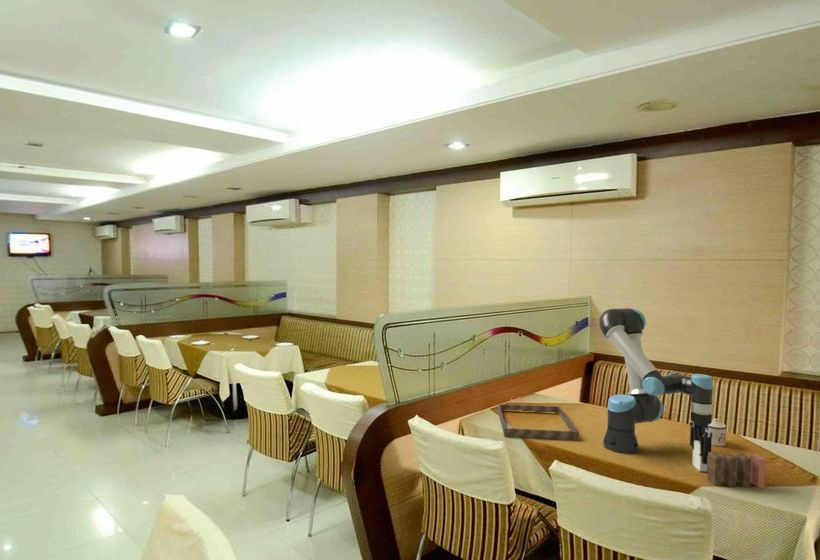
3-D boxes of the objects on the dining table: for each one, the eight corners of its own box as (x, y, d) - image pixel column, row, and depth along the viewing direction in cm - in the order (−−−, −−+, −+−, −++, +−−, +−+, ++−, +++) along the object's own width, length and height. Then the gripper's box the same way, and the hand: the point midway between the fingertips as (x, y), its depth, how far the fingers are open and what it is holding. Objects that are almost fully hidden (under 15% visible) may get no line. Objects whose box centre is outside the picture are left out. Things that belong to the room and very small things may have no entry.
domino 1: (699, 471, 193) (700, 444, 193) (693, 465, 198) (694, 440, 198) (705, 471, 193) (706, 444, 193) (699, 466, 198) (700, 440, 198)
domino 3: (728, 486, 180) (729, 457, 179) (721, 480, 185) (722, 452, 184) (735, 486, 179) (736, 458, 179) (728, 480, 184) (729, 453, 184)
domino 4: (743, 487, 179) (744, 458, 179) (735, 481, 184) (736, 453, 184) (750, 487, 179) (751, 458, 179) (742, 481, 184) (743, 453, 184)
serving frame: (504, 436, 230) (504, 428, 229) (497, 410, 271) (497, 403, 271) (578, 440, 226) (578, 432, 226) (560, 413, 268) (560, 406, 267)
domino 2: (714, 485, 180) (715, 457, 180) (707, 479, 185) (708, 451, 185) (721, 485, 180) (721, 457, 180) (714, 480, 185) (714, 452, 185)
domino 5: (758, 488, 179) (759, 459, 178) (750, 482, 184) (751, 454, 183) (764, 488, 178) (765, 459, 178) (756, 482, 183) (757, 454, 183)
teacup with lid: (722, 448, 218) (723, 423, 218) (700, 442, 225) (701, 418, 225) (730, 442, 226) (731, 418, 226) (709, 436, 233) (709, 413, 233)
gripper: (722, 419, 185) (721, 478, 186) (699, 406, 203) (698, 459, 204) (702, 418, 186) (701, 477, 187) (681, 405, 204) (680, 458, 205)
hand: (699, 467), depth 195 cm, fingers closed on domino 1, 5 cm apart
